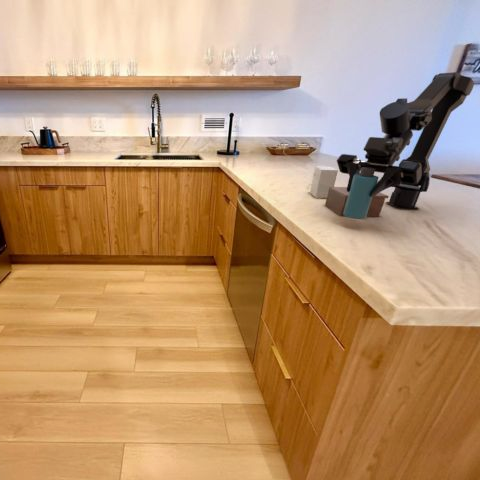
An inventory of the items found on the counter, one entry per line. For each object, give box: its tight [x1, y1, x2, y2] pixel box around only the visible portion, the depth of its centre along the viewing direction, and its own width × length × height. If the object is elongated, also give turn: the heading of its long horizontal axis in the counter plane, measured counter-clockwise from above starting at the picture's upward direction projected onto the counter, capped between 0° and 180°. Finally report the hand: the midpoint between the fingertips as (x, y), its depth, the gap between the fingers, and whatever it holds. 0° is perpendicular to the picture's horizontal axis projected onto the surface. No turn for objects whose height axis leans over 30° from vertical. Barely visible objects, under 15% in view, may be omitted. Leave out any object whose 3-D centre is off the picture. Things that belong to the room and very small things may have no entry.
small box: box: [309, 165, 339, 199], centre depth 108 cm, size 8×6×10 cm
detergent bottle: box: [343, 167, 380, 220], centre depth 77 cm, size 5×5×13 cm
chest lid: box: [329, 180, 389, 199], centre depth 90 cm, size 12×11×4 cm
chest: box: [324, 189, 386, 218], centre depth 92 cm, size 12×11×6 cm
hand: (358, 193), depth 76 cm, fingers closed on detergent bottle, 5 cm apart
